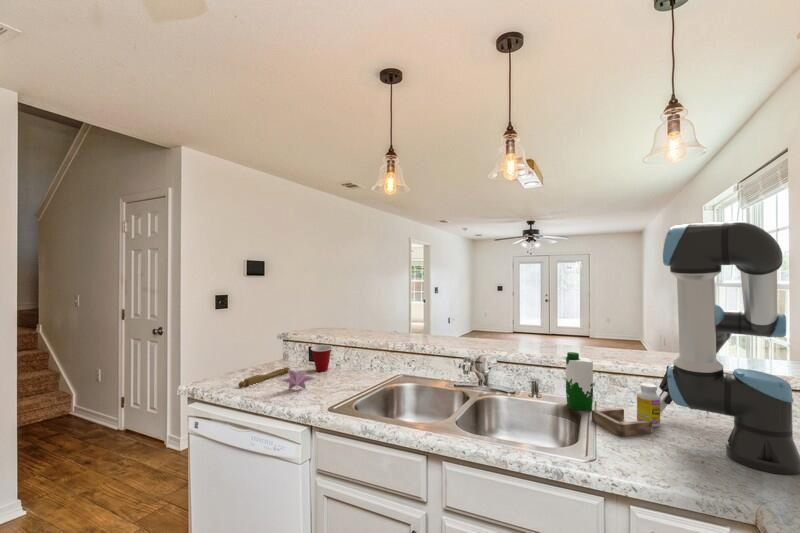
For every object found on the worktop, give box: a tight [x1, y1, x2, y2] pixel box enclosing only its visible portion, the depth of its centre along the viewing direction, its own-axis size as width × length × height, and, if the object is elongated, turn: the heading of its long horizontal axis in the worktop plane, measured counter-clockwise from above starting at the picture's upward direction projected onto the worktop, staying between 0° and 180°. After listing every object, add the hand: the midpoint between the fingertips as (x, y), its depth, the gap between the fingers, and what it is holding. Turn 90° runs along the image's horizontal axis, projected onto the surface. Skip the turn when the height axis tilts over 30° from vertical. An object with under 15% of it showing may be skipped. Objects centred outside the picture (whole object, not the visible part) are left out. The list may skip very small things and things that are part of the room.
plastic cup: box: [310, 344, 333, 373], centre depth 202 cm, size 11×11×12 cm
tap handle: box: [238, 366, 291, 388], centre depth 186 cm, size 3×3×30 cm
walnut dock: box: [591, 407, 653, 437], centre depth 130 cm, size 12×13×4 cm
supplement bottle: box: [636, 382, 661, 428], centre depth 132 cm, size 7×7×13 cm
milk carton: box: [565, 351, 594, 411], centre depth 148 cm, size 9×9×20 cm
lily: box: [282, 369, 315, 395], centre depth 168 cm, size 12×12×10 cm
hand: (657, 409), depth 134 cm, fingers closed
